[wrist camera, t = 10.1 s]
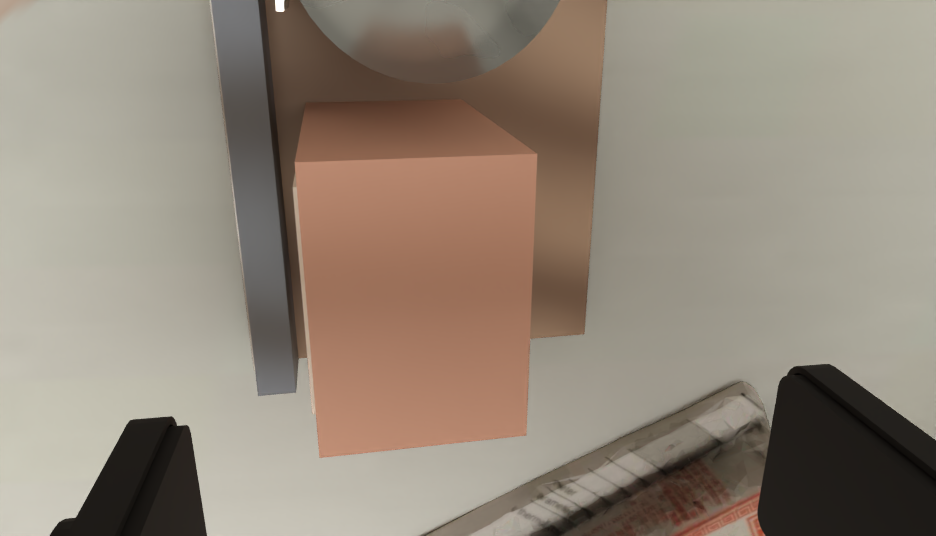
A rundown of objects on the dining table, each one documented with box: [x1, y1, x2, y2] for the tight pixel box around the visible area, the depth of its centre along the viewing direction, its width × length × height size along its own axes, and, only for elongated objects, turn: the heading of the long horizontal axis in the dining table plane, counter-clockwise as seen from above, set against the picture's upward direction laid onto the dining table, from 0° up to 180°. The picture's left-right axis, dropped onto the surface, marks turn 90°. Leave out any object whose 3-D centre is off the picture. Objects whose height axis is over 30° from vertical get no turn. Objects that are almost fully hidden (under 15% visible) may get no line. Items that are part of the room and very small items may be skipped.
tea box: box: [293, 99, 537, 458], centre depth 20 cm, size 7×5×9 cm
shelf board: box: [209, 0, 607, 396], centre depth 22 cm, size 17×12×4 cm
